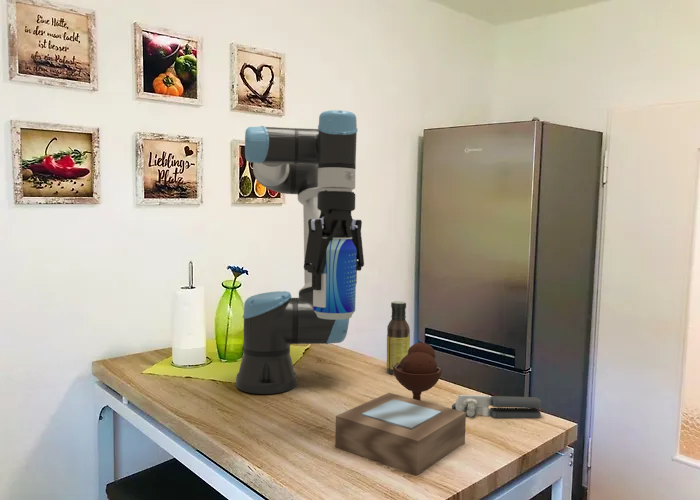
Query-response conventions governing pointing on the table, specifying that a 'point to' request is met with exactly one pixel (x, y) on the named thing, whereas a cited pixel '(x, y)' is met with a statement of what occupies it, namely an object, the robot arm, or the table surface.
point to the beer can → (339, 280)
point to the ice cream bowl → (418, 369)
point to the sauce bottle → (397, 336)
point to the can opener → (480, 404)
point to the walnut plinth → (401, 432)
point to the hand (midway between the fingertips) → (334, 304)
